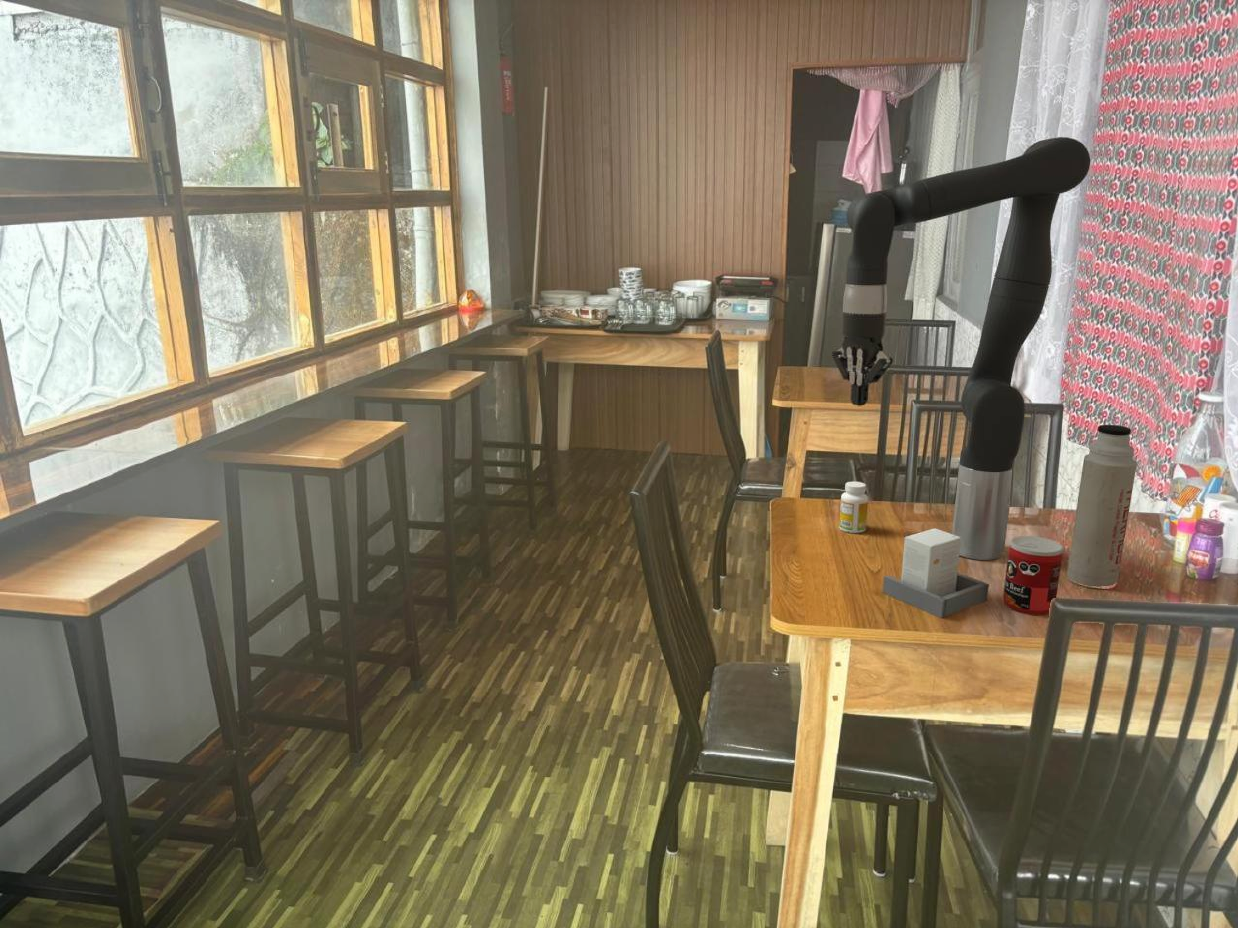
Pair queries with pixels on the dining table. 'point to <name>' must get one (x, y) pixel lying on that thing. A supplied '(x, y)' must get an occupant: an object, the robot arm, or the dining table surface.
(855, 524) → the supplement bottle
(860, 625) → the dining table surface
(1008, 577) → the canned food
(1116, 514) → the thermos bottle
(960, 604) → the bay
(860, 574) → the dining table surface
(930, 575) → the small box
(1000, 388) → the robot arm
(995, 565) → the dining table surface
